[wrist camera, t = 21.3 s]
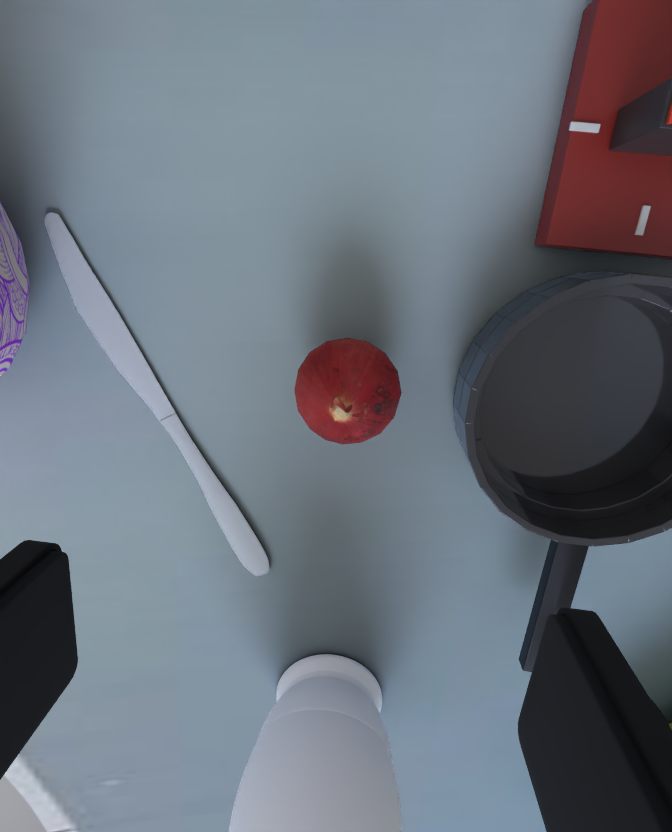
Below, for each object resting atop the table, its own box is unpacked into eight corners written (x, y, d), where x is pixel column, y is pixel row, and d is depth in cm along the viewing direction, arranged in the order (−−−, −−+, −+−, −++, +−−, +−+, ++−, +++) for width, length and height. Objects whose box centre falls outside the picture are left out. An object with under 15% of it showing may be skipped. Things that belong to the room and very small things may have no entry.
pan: (477, 259, 28) (495, 259, 24) (746, 285, 27) (814, 290, 23) (435, 493, 33) (445, 529, 28) (664, 520, 32) (708, 560, 28)
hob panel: (581, 10, 24) (600, -13, 22) (773, 25, 24) (811, 3, 22) (532, 245, 28) (544, 244, 25) (698, 261, 27) (725, 262, 25)
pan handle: (553, 527, 29) (559, 536, 28) (584, 531, 29) (591, 540, 28) (518, 659, 32) (522, 671, 31) (545, 662, 32) (550, 675, 31)
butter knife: (239, 584, 36) (274, 572, 35) (25, 226, 29) (62, 203, 28) (241, 579, 36) (276, 567, 35) (32, 227, 30) (69, 204, 29)
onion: (408, 341, 30) (419, 370, 22) (384, 428, 32) (387, 482, 24) (314, 319, 30) (294, 341, 22) (296, 407, 32) (272, 455, 24)
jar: (288, 622, 37) (235, 852, 23) (416, 666, 37) (442, 919, 23) (249, 719, 40) (180, 972, 26) (366, 758, 41) (362, 1029, 26)
